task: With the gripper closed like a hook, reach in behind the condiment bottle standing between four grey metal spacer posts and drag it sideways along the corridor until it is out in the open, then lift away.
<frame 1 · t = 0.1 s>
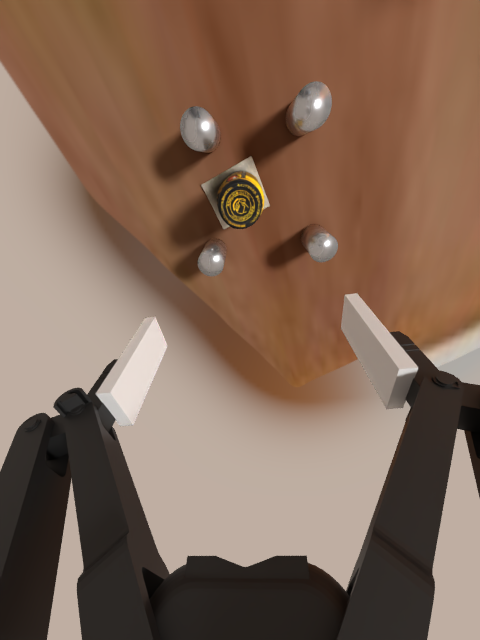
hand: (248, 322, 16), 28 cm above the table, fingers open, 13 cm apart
condiment: (236, 195, 37), on the table
spacer d: (312, 236, 40), on the table
spacer b: (215, 249, 42), on the table
spacer c: (300, 117, 31), on the table
spacer a: (206, 135, 33), on the table
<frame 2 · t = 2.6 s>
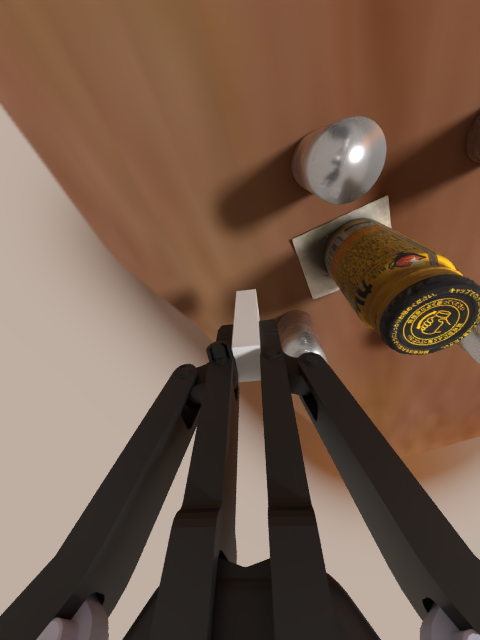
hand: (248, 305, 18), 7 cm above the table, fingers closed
condiment: (344, 252, 23), on the table
spacer d: (448, 308, 26), on the table
spacer b: (294, 324, 28), on the table
spacer a: (316, 161, 19), on the table
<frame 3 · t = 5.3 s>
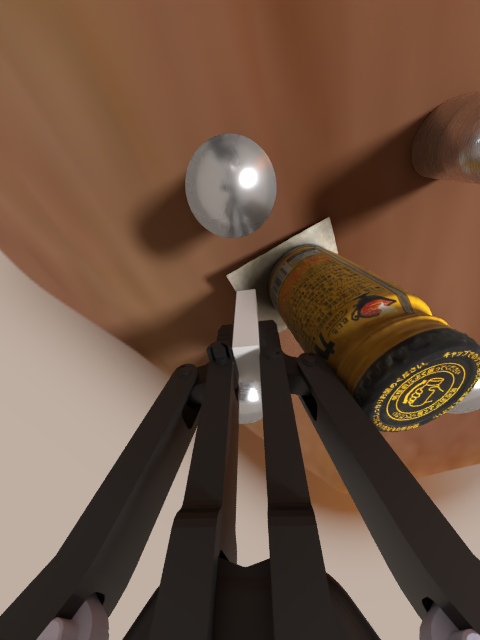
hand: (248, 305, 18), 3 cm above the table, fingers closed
condiment: (290, 284, 19), point 1 cm above the table, touching gripper, hand
spacer d: (414, 337, 23), on the table
spacer b: (244, 352, 25), on the table
spacer c: (447, 140, 14), on the table
spacer a: (238, 179, 16), on the table
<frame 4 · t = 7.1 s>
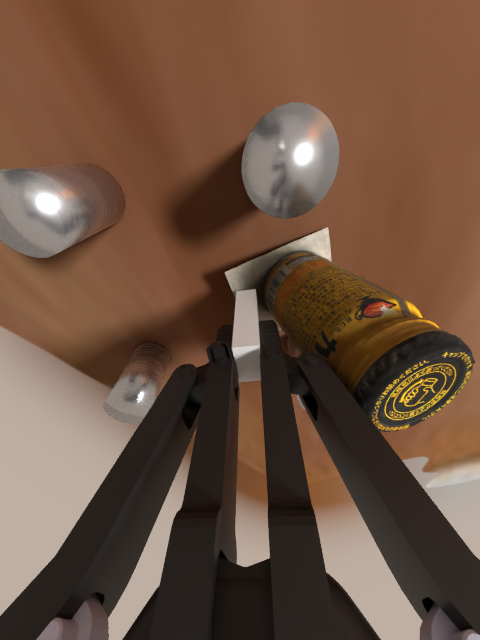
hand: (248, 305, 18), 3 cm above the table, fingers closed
condiment: (284, 288, 20), point 1 cm above the table, touching gripper, hand
spacer b: (153, 355, 26), on the table
spacer c: (275, 161, 15), on the table
spacer a: (97, 196, 17), on the table
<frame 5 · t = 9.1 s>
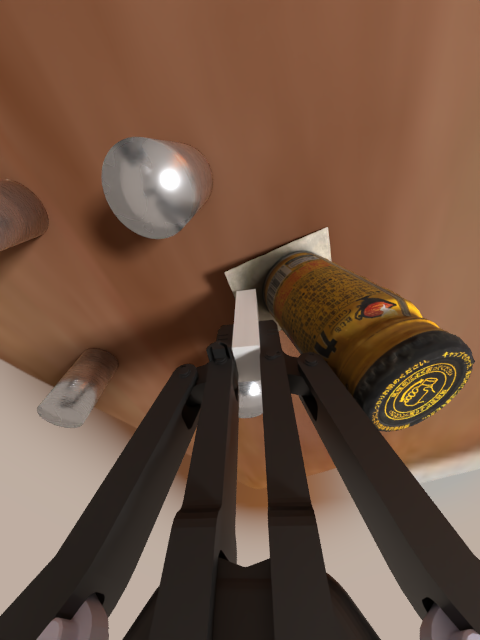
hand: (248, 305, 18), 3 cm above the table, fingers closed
condiment: (284, 288, 20), point 1 cm above the table, touching gripper, hand
spacer d: (245, 347, 25), on the table
spacer b: (100, 360, 27), on the table
spacer c: (184, 179, 16), on the table
spacer a: (19, 209, 18), on the table
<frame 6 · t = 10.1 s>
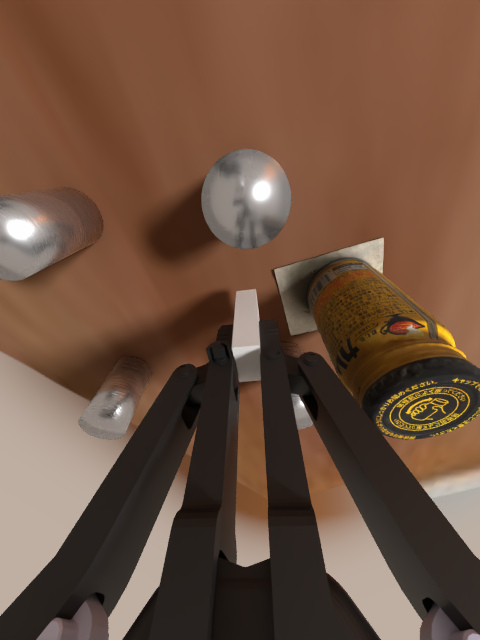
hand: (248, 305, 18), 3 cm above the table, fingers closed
condiment: (329, 291, 21), on the table
spacer d: (284, 356, 25), on the table
spacer b: (134, 369, 27), on the table
spacer c: (246, 189, 16), on the table
spacer a: (76, 217, 18), on the table
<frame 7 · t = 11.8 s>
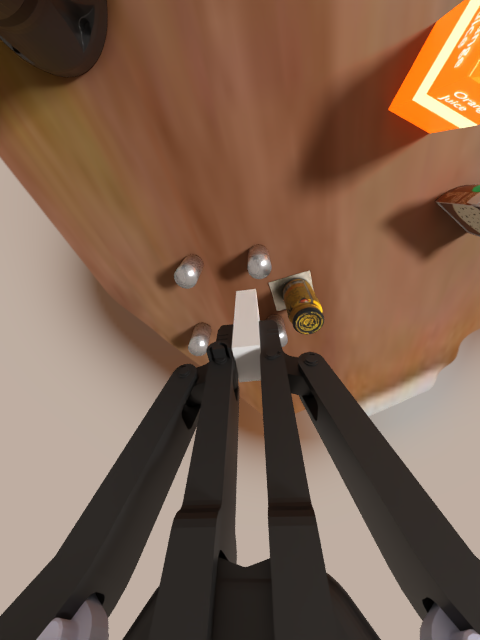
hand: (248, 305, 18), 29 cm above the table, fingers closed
condiment: (292, 291, 49), on the table
orange juice: (432, 83, 32), on the table
retro television: (468, 200, 39), on the table
spacer d: (274, 321, 54), on the table
spacer b: (202, 329, 55), on the table
spacer c: (258, 254, 45), on the table
spacer a: (193, 264, 47), on the table
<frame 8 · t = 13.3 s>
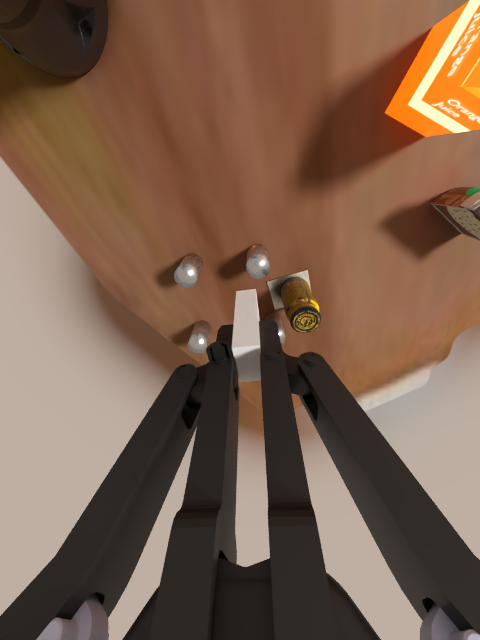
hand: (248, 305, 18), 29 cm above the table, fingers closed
condiment: (290, 290, 50), on the table
orange juice: (428, 87, 32), on the table
retro television: (462, 202, 40), on the table
spacer d: (272, 319, 55), on the table
spacer b: (202, 327, 56), on the table
spacer c: (256, 254, 46), on the table
spacer a: (192, 263, 47), on the table
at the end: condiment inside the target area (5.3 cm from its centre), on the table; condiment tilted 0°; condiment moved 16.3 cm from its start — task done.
